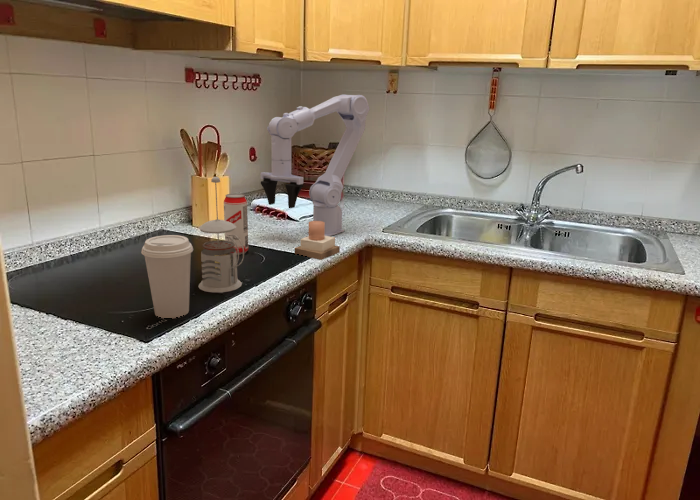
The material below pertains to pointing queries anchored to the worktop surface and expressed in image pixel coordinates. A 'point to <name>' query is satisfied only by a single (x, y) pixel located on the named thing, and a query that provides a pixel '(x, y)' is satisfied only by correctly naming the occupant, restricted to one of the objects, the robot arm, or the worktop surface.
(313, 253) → the walnut base slab
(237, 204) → the beer can
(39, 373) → the worktop surface
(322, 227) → the terracotta cylinder
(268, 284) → the worktop surface
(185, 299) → the coffee cup
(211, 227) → the french press
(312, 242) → the cream slab
